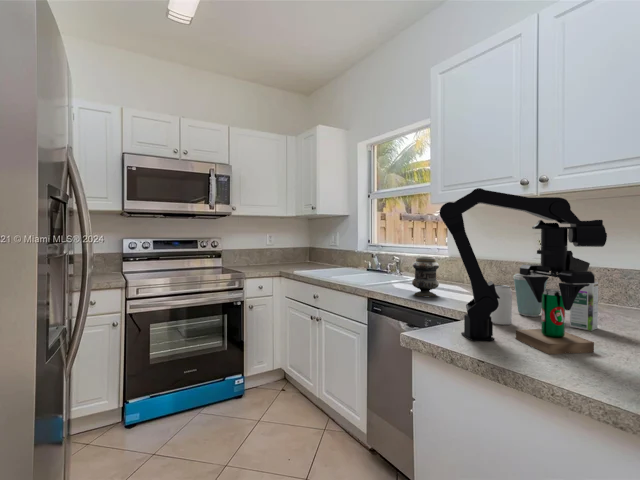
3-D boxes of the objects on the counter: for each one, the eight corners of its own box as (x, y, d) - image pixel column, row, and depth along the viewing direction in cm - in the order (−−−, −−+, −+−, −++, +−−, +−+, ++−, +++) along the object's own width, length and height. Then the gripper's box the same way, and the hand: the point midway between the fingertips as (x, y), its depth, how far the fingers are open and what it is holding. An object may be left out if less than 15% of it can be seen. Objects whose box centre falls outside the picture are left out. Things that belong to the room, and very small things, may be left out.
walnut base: (548, 354, 83) (548, 343, 83) (515, 338, 95) (515, 329, 95) (593, 352, 84) (594, 342, 84) (555, 337, 96) (555, 328, 96)
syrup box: (569, 327, 106) (569, 280, 106) (576, 324, 109) (576, 279, 109) (591, 331, 101) (592, 283, 101) (598, 328, 105) (599, 281, 104)
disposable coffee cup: (505, 312, 125) (506, 271, 125) (527, 310, 129) (527, 270, 128) (532, 319, 115) (533, 275, 115) (554, 316, 119) (555, 273, 118)
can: (484, 321, 113) (485, 285, 113) (498, 319, 116) (499, 284, 115) (502, 326, 107) (502, 288, 107) (516, 324, 110) (516, 287, 109)
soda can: (542, 331, 93) (543, 287, 92) (565, 335, 89) (566, 289, 89) (539, 336, 89) (540, 290, 89) (563, 340, 86) (564, 292, 85)
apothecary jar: (435, 298, 151) (436, 258, 151) (408, 296, 157) (409, 257, 157) (441, 294, 162) (441, 256, 161) (415, 292, 168) (415, 255, 167)
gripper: (616, 247, 80) (615, 313, 81) (554, 244, 99) (554, 298, 99) (572, 248, 79) (571, 315, 80) (518, 245, 98) (518, 299, 98)
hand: (553, 306), depth 89 cm, fingers open, 9 cm apart
